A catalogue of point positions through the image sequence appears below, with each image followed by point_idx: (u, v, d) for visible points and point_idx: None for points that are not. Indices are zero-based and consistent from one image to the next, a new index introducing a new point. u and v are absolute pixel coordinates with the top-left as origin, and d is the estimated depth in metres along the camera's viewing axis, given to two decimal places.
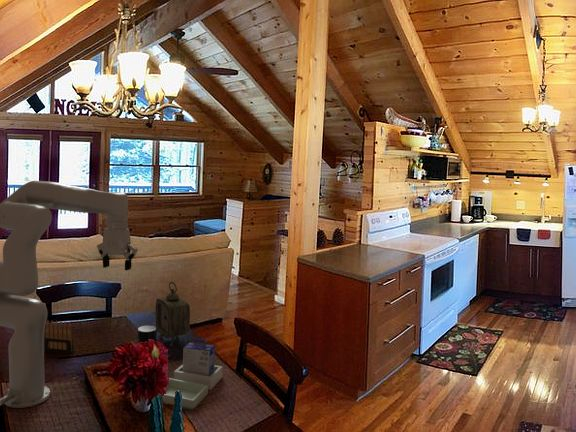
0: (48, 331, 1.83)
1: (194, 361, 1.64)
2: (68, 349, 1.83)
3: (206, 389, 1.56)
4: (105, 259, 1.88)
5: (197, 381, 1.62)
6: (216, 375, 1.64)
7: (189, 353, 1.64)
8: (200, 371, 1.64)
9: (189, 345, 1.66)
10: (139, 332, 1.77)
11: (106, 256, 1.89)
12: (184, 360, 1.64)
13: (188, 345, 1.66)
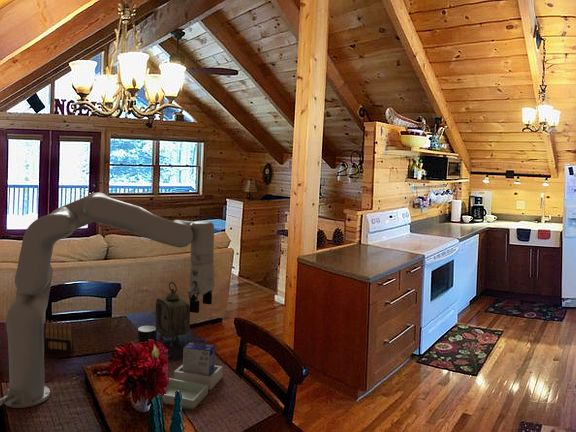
0: (48, 331, 1.83)
1: (194, 361, 1.64)
2: (68, 349, 1.83)
3: (206, 389, 1.56)
4: None
5: (197, 381, 1.62)
6: (216, 375, 1.64)
7: (189, 353, 1.64)
8: (200, 371, 1.64)
9: (189, 345, 1.66)
10: (139, 332, 1.77)
11: None
12: (184, 360, 1.64)
13: (188, 345, 1.66)
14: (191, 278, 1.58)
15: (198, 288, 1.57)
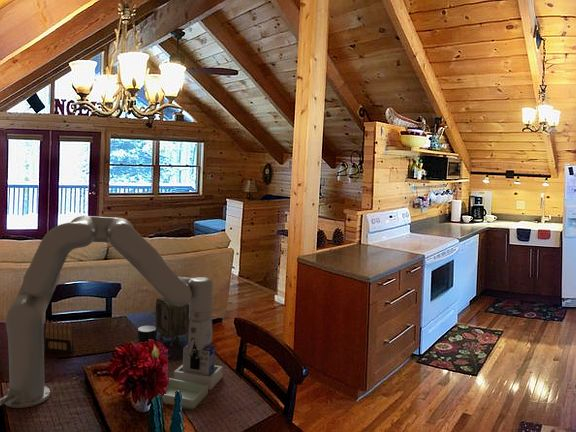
0: (48, 331, 1.83)
1: None
2: (68, 349, 1.83)
3: (206, 389, 1.56)
4: None
5: (197, 381, 1.62)
6: (216, 375, 1.64)
7: None
8: (200, 371, 1.64)
9: None
10: (139, 332, 1.77)
11: None
12: (184, 360, 1.64)
13: None
14: (189, 335, 1.60)
15: (197, 347, 1.60)
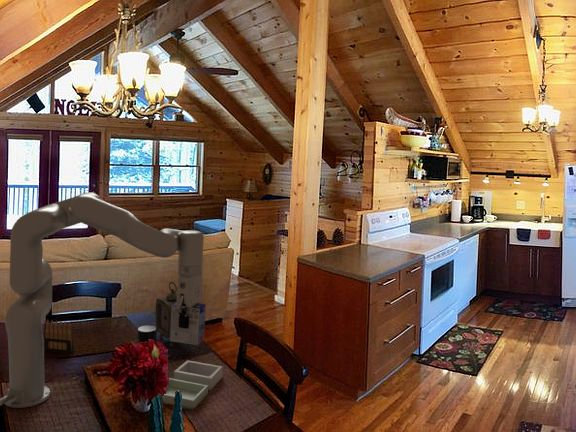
0: (48, 331, 1.83)
1: None
2: (68, 349, 1.83)
3: (206, 389, 1.56)
4: None
5: (197, 381, 1.62)
6: (216, 375, 1.64)
7: (177, 311, 1.53)
8: (190, 331, 1.53)
9: None
10: (139, 332, 1.77)
11: None
12: (172, 318, 1.54)
13: None
14: (178, 290, 1.50)
15: (186, 304, 1.50)
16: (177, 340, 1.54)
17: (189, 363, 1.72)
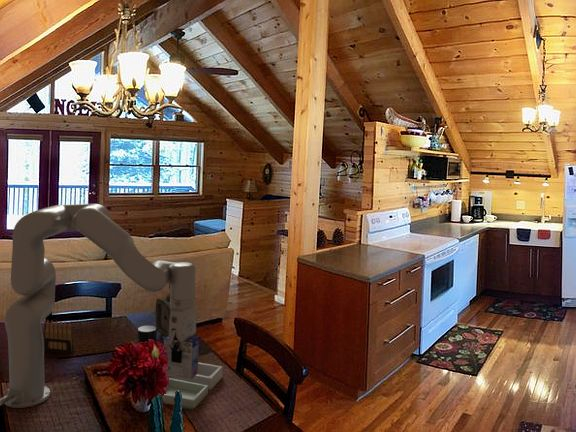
0: (48, 331, 1.83)
1: None
2: (68, 349, 1.83)
3: (206, 389, 1.56)
4: None
5: (197, 381, 1.62)
6: (216, 375, 1.64)
7: None
8: (183, 365, 1.50)
9: None
10: (139, 332, 1.77)
11: None
12: None
13: None
14: (170, 325, 1.47)
15: (178, 339, 1.47)
16: (170, 374, 1.51)
17: None
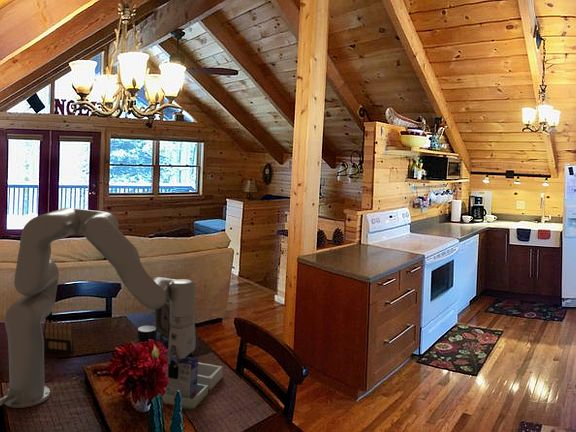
0: (48, 331, 1.83)
1: None
2: (68, 349, 1.83)
3: (206, 389, 1.56)
4: None
5: (197, 381, 1.62)
6: (216, 375, 1.64)
7: None
8: (181, 386, 1.51)
9: None
10: (139, 332, 1.77)
11: None
12: None
13: None
14: (170, 342, 1.48)
15: (177, 353, 1.47)
16: None
17: None
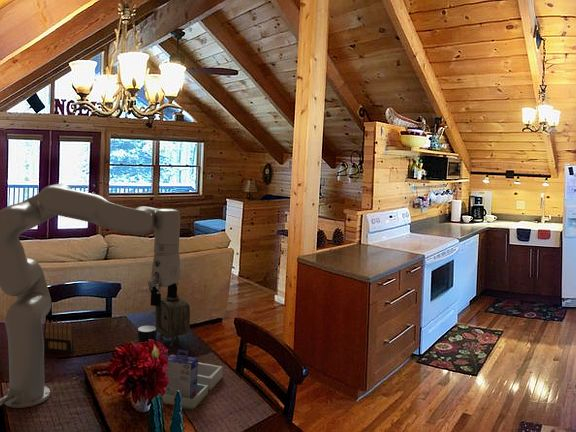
0: (48, 331, 1.83)
1: (175, 375, 1.52)
2: (68, 349, 1.83)
3: (206, 389, 1.56)
4: None
5: (197, 381, 1.62)
6: (216, 375, 1.64)
7: (169, 366, 1.52)
8: (181, 386, 1.51)
9: (170, 357, 1.54)
10: (139, 332, 1.77)
11: None
12: None
13: (169, 357, 1.54)
14: (153, 269, 1.48)
15: (160, 280, 1.47)
16: None
17: None
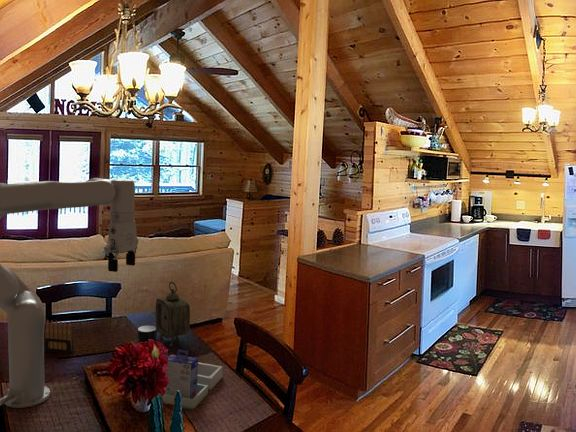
0: (48, 331, 1.83)
1: (174, 375, 1.52)
2: (68, 349, 1.83)
3: (206, 389, 1.56)
4: None
5: (197, 381, 1.62)
6: (216, 375, 1.64)
7: (169, 366, 1.52)
8: (181, 386, 1.51)
9: (170, 357, 1.54)
10: (139, 332, 1.77)
11: None
12: None
13: (169, 357, 1.54)
14: (109, 236, 1.55)
15: (116, 246, 1.55)
16: None
17: None
